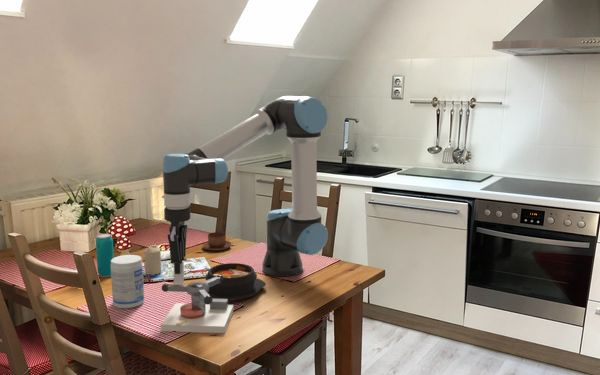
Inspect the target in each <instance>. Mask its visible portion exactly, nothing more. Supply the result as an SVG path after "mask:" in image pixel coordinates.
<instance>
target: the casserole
mask: <svg viewBox="0 0 600 375" xmlns="http://www.w3.org/2000/svg"><path fill="white" fill-rule="evenodd" d="M218 275H222V276H223V278H224V280H223V282H221V283H218V284H216V285H214V286H212V287H210V288H209V292H208V294H209V295H210V296H211V297H212V299H228V302H229V301H238V300H242V299H247V298H250V297H252V296H254V295H256V294H257V293H259V291H260V290H261V289H262V288H264V287H265V286H266V285H267V284H266V282H265V281H264V280H262V279H260V278H258V275H257V273H256V272H255V269H254V267H252V266H251V265H248V264H245V263H238V262H229V263H221V264H217V265H214V266H212V267H210V268H209V269H208V270H207V273H206V275H205V276H204V278H205V281H207V280H209V279H212V278H214V277H216V276H218Z"/></svg>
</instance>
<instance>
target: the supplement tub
mask: <svg viewBox="0 0 600 375" xmlns="http://www.w3.org/2000/svg"><path fill="white" fill-rule="evenodd" d="M143 268H144V267H143V259H142V256H140V255H137V254H123V255H118V256H114V258H113V259H112V260H111V277H110V280H111V290H112V291H111V293H112V294H111V295H112V303H113V306H114V307H115V308H118V309H133V308H137V307H139V306H141V305H142V304H143V303H144V302H145V290H144V289H145V286H144V269H143Z"/></svg>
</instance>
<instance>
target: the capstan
mask: <svg viewBox="0 0 600 375" xmlns="http://www.w3.org/2000/svg"><path fill="white" fill-rule="evenodd" d="M223 280H224V278H223V276H222V275H218V276H216V277H214V278H212V279H209V280H207V281H206V280H205V281H194V282H190V283H188V284H184V283H183V284H174V283H172V284H171V283H163V284H162V286H161V290H162V292H165V293H167V292H174V293H176V292H178V293H179V292H180V293H181V292H182V293H187V295H189V296H191V298H190V299H191V302H188V303H185V304H184V305H182V306H181V308H180V314H181V316H182V317H185V318H197V317H200V316H203V315H205V314H206V306H205V304H207V305H209V304H211V303H212V301H213V299H212V297H211V296H210V295H209V294H208V292H209V288H210V287H212V286H214V285H216V284H218V283H221V282H223Z"/></svg>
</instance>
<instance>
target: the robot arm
mask: <svg viewBox="0 0 600 375" xmlns="http://www.w3.org/2000/svg"><path fill="white" fill-rule="evenodd" d="M328 116H329V114H328V111H327V108H326V105H325V104H324V103H323V101H321V100H320V99H319V98H317V97H313V96H310V95H301V96H300V95H299V96H298V95H284V96H281V97H280V96H279V97H278V98H276V99H274V100H272V101H271V102H268V103H267V104H265V105H263V106H262V107H260V108H258V109H257V110H256V111H255V113H254V114H253V115H252V116H250V117H249V118H247V119H245V120H243V121H242V122H240V123H238V124H236V125H234V127H231V128H230V129H228V130H226V131H225V132H222V133H221V134H219V135H218V136H216V137H214V138H212V139H211V140H209V141H207V142H205V143H203V145H200V146H199V147H197V148H195V149H194V150H191V151H190V152H184V153H183V152H181V153H169V154H166V155H164V157H163V159H162V160H163V161H162V176H163V195H162V196H161V197H162V199H163V206H165V207H164V209H163V212H164V214H163V215H164V220H165V221H167V222H169V223H170V226H169V230H168V231H169V233H170V234H167V240H168V246H169V254H170V264H172V265H173V284H183V285H184V283H185V270H184V269H185V267H184V266H185V265H184V264H185V263H184V262H186V261H187V258H185V257H186V254H187V253H186V251H187V250H186V249H187V232H188V231H187V230H188V225H187V224H185V222H188V221H189V220H190V219H191V207H190V206H191V187H192V186H200V185H211V184H214V185H216V184H220V183H224V182H225V181H226V180H227V179H228V176H229V175H228V174H229V170H228V168H229V167H228V164H227V162H226V160H225V159H226V158H228V157H229V156H231V155H233V154H234V153H236V152H238V151H240V150H242V149H243V148H245V147H246V146H248V145H250V144H251V143H253V142H255V141H257V140H258V139H260V138H262V137H263V136H265V135H272V134H273V133H275V132H277V131H281V130H282V131H283V130H286V132H285V133H286V139H288V140H289V141H290V152H291V157H290V158H291V208H280V209H273V210H270V211H268V213H267V215H266V252H265V255H264V258H263V261H262V268H261V269H262V271H263V272H264V274H267V275H270V276H274V277H275V276H276V277H290V276H291V277H292V276H295V275H299V274H300V273H302V272H303V269H304V268H303V266H304V265H303V264H304V263H303V260H302V258H301V255H300V254H305V255H308V256H313V255H316V254H318V253H320V252H322V250H323V248H324V247H326V244H327V242H328V238H329V231H328V228H327V227H326V226H325V225H324V224H323V223H322V214H321V212H320V211H319V210H318V193H317V192H318V188H317V186H318V182H317V181H318V178H317V175H318V174H317V169H318V168H317V142H318V140H320V138H321V136H322V131H323V130H324V129H325V126H327V123H328V120H329V118H328Z"/></svg>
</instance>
